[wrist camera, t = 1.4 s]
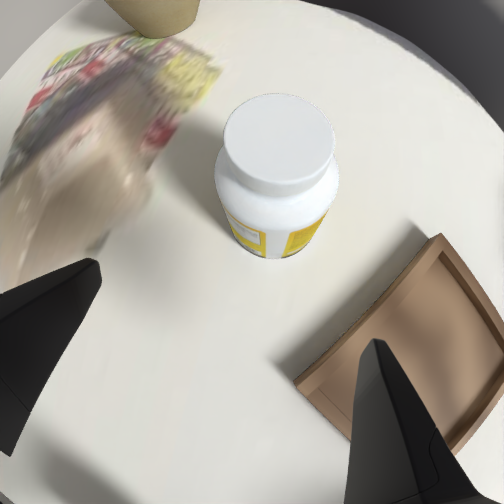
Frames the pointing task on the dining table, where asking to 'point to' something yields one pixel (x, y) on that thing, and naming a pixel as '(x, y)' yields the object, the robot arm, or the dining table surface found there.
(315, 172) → the pill bottle
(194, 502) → the dining table surface
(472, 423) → the tray
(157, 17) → the plant pot
